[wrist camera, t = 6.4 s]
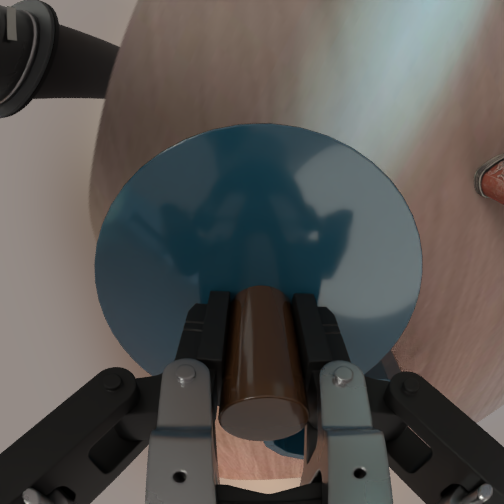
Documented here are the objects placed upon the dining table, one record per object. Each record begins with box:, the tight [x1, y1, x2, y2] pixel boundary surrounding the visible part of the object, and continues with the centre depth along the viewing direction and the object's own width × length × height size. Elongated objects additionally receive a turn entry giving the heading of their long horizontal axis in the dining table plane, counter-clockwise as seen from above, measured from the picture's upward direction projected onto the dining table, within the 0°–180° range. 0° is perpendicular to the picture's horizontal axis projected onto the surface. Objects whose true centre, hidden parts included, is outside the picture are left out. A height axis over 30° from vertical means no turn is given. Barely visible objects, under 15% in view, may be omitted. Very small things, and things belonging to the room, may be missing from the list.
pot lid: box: [95, 123, 422, 441], centre depth 10 cm, size 14×14×6 cm
